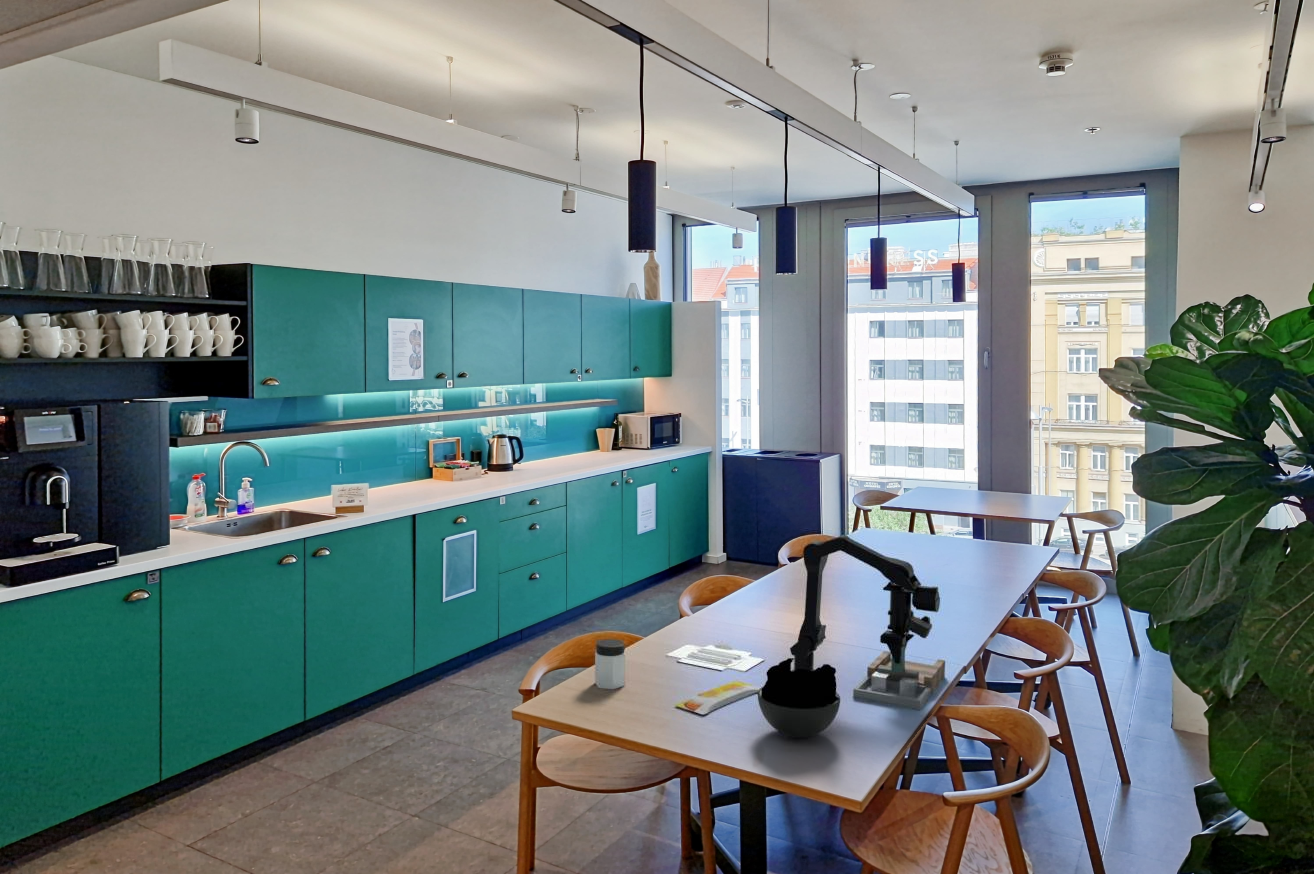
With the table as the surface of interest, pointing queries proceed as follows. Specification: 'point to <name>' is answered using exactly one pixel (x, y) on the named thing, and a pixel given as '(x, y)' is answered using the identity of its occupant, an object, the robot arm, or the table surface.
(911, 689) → the light grey cube
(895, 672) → the rake tool
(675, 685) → the table surface
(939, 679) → the slot block
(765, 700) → the coal bowl
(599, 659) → the jar
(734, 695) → the food package
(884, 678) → the white cube
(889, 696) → the tray
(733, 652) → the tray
